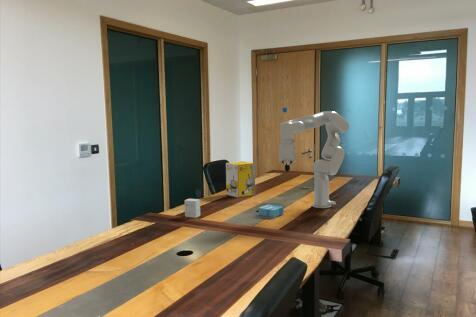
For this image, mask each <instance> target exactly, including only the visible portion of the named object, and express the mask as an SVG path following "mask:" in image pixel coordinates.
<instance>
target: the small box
mask: <svg viewBox="0 0 476 317" xmlns="http://www.w3.org/2000/svg"><path fill="white" fill-rule="evenodd" d="M183 201H184V216H185V218H198V217H200V216H201V199H199V198H187V199H185V200H183Z"/></svg>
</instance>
